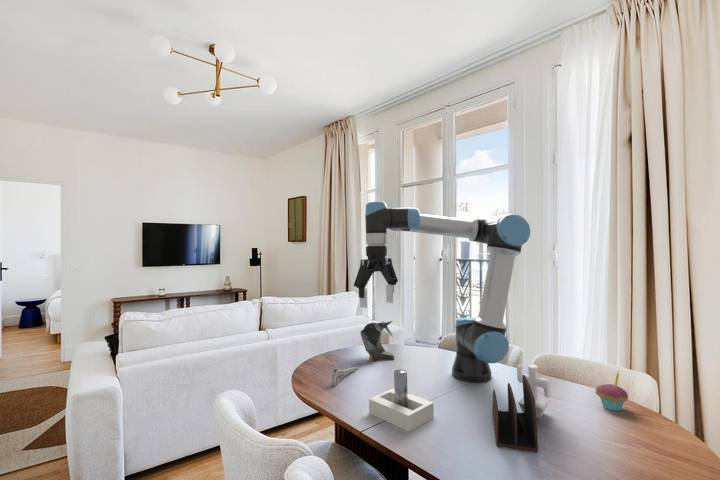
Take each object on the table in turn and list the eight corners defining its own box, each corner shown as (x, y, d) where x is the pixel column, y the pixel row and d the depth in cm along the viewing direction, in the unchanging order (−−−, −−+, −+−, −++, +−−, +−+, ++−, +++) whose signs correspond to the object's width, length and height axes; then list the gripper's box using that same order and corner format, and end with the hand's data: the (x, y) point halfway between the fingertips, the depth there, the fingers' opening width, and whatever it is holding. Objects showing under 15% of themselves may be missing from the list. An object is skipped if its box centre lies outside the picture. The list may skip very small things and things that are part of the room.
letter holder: (526, 417, 109) (525, 371, 110) (538, 453, 90) (537, 397, 91) (492, 413, 112) (491, 368, 113) (496, 447, 93) (495, 393, 94)
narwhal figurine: (361, 354, 174) (360, 317, 175) (393, 354, 174) (392, 317, 174) (360, 363, 160) (359, 323, 161) (394, 363, 160) (394, 323, 160)
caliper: (334, 387, 135) (334, 370, 135) (332, 387, 135) (332, 370, 135) (357, 369, 154) (357, 354, 154) (355, 369, 154) (355, 354, 154)
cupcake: (622, 403, 117) (622, 367, 117) (633, 415, 109) (632, 376, 109) (592, 400, 120) (591, 364, 120) (600, 411, 112) (599, 373, 112)
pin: (408, 407, 113) (407, 369, 113) (407, 413, 109) (406, 374, 109) (395, 406, 114) (394, 369, 114) (394, 412, 110) (393, 373, 110)
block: (369, 413, 113) (369, 398, 113) (394, 401, 121) (394, 388, 121) (409, 431, 102) (408, 415, 102) (433, 417, 110) (433, 402, 110)
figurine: (547, 423, 105) (546, 371, 106) (514, 413, 112) (513, 365, 112) (553, 414, 111) (552, 365, 111) (521, 405, 117) (520, 359, 117)
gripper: (391, 245, 140) (392, 299, 139) (343, 245, 122) (343, 308, 122) (406, 244, 134) (407, 301, 134) (358, 245, 117) (359, 310, 117)
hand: (377, 304), depth 128 cm, fingers open, 13 cm apart
